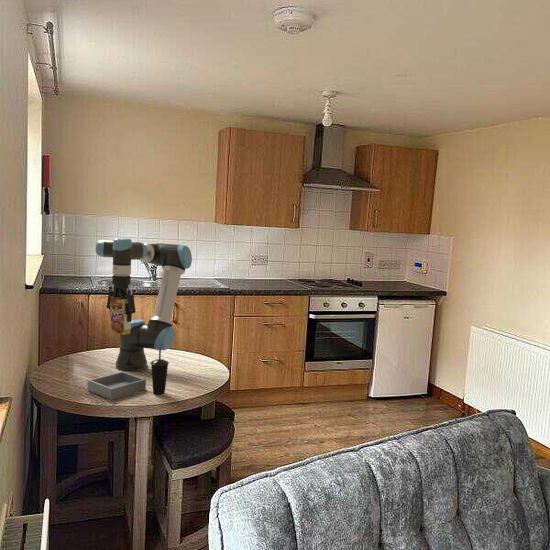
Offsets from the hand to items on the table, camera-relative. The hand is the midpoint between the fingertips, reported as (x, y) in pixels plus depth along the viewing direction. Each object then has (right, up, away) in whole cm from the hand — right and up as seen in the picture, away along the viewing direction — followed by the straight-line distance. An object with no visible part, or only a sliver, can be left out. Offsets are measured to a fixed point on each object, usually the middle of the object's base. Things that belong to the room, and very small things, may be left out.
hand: (120, 327), depth 229 cm
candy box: (0, -3, 0) cm, 3 cm away
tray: (-2, -27, +3) cm, 28 cm away
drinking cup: (+16, -29, +2) cm, 33 cm away
